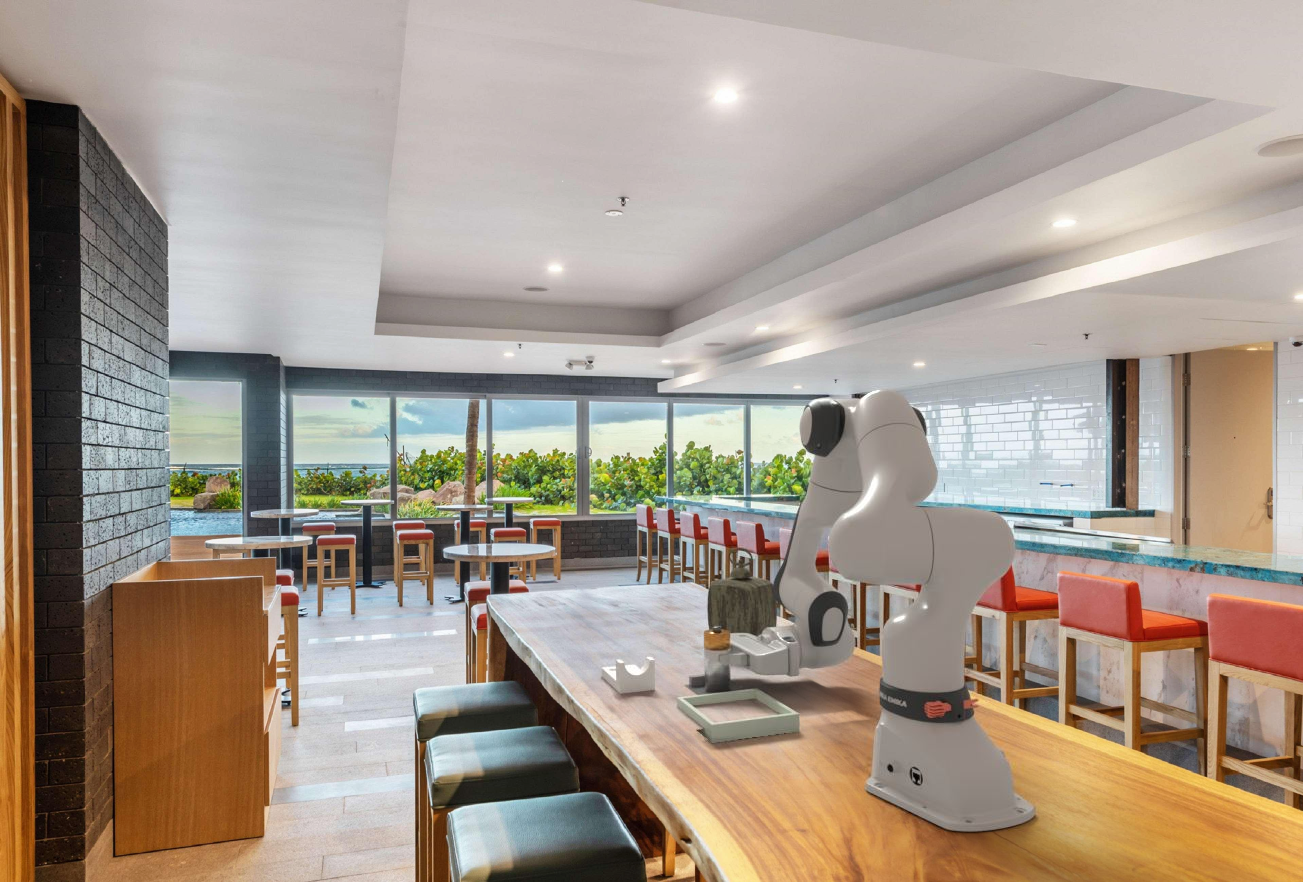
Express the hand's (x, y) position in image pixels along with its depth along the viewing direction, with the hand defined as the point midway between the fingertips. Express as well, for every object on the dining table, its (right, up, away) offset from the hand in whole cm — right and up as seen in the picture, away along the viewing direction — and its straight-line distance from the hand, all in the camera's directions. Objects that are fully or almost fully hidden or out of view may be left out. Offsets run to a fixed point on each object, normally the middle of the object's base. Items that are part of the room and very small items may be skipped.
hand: (713, 655), depth 157 cm
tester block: (+1, -8, 0) cm, 8 cm away
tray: (+3, -8, -15) cm, 17 cm away
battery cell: (+1, -6, 0) cm, 7 cm away
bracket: (-17, -9, +5) cm, 20 cm away
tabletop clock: (+9, -9, +32) cm, 35 cm away
